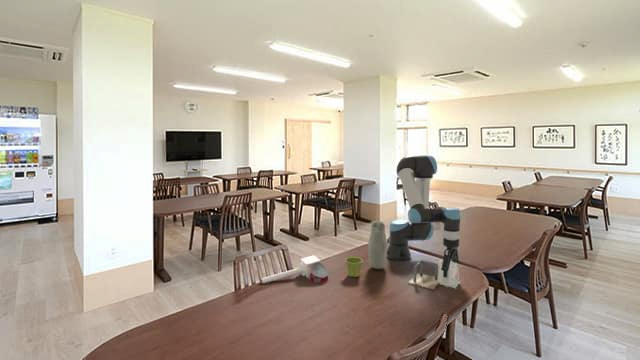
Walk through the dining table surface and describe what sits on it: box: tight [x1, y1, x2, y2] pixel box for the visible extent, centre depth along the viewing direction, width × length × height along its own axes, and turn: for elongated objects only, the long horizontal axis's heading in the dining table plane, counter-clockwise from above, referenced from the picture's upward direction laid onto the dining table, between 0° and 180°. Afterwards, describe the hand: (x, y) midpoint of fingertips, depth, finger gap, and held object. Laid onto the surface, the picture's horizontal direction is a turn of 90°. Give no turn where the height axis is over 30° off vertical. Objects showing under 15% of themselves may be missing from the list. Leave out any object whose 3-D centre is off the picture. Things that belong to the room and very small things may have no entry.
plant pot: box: [345, 256, 363, 278], centre depth 186 cm, size 9×9×9 cm
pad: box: [439, 280, 461, 289], centre depth 173 cm, size 8×8×1 cm
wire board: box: [407, 272, 439, 290], centre depth 177 cm, size 13×14×1 cm
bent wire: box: [412, 260, 438, 282], centre depth 176 cm, size 9×10×8 cm
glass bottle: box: [368, 220, 388, 270], centre depth 195 cm, size 10×10×28 cm
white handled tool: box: [261, 255, 321, 284], centre depth 183 cm, size 9×9×32 cm
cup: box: [437, 259, 460, 285], centre depth 172 cm, size 8×12×10 cm
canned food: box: [309, 261, 329, 284], centre depth 181 cm, size 11×10×10 cm
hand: (449, 278), depth 173 cm, fingers open, 13 cm apart
